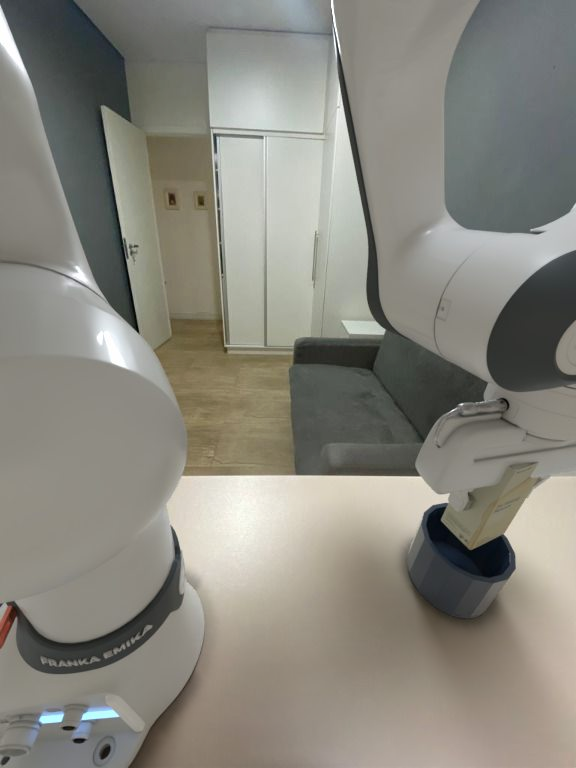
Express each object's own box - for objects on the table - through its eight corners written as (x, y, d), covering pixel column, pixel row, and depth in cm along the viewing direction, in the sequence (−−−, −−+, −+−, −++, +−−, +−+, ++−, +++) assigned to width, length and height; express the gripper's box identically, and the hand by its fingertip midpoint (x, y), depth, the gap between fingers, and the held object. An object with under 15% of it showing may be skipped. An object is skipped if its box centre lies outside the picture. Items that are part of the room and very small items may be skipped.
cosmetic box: (469, 552, 34) (515, 472, 28) (438, 519, 38) (473, 442, 32) (506, 533, 36) (555, 455, 31) (473, 504, 40) (512, 429, 34)
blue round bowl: (438, 628, 36) (461, 591, 32) (392, 546, 45) (405, 509, 41) (509, 607, 39) (538, 571, 35) (452, 533, 47) (470, 497, 44)
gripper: (474, 429, 23) (424, 543, 30) (664, 405, 27) (583, 508, 34) (423, 386, 28) (390, 492, 35) (590, 372, 33) (532, 468, 40)
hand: (487, 500), depth 35 cm, fingers closed on cosmetic box, 6 cm apart
